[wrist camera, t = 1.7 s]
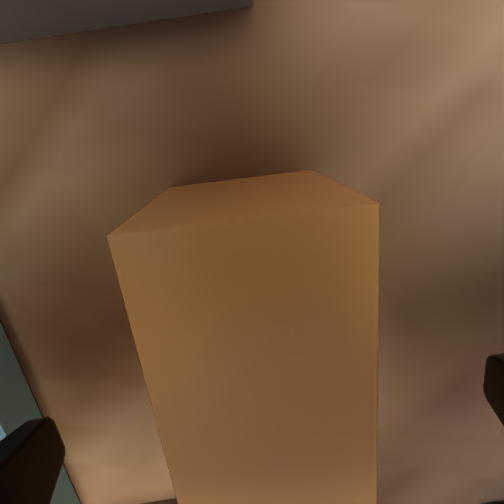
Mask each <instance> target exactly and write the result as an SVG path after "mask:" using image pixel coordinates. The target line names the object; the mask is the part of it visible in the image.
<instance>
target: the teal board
mask: <svg viewBox="0 0 504 504" xmlns="http://www.w3.org/2000/svg"><path fill="white" fill-rule="evenodd" d="M36 418H42V415H41V413H40V411H39V409H38V406H37V404H36V402H35V400H34V397H33V395H32V393H31V390H30V388H29V386H28V384H27V381H26V379H25V377H24V375H23V372H22V370H21V368H20V365H19V363H18V361H17V359H16V356H15V354H14V352H13V350H12V347H11V345H10V343H9V340H8V338H7V336H6V334H5V331H4V329H3V327H2V325H1V322H0V440H2V439H3V438H5V437H6V436H7V435H9V434H10V433H11V432H13V431H14V430H15V429H17V428H18V427H19V426H21V425H22V424H24V423H25V422H26V421H28V420H31V419H36ZM50 504H80V502H79V499H78V497H77V495H76V493H75V490H74V488H73V486H72V484H71V481H70V479H69V477H68V474H67V472H66V470H65V468H64V465H62V468H61V471H60V474H59V477H58V480H57V484H56V487H55V490H54V493H53V496H52V500H51V503H50Z"/></svg>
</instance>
